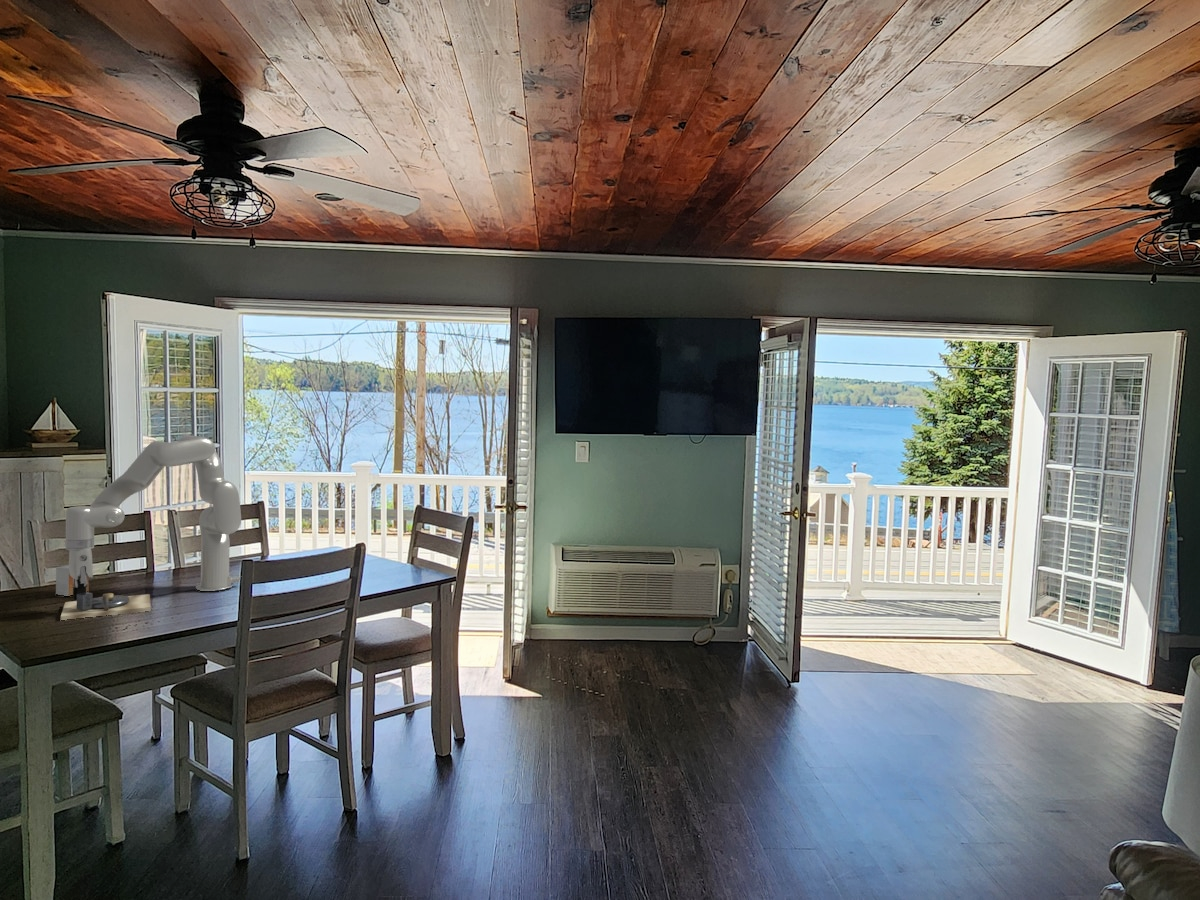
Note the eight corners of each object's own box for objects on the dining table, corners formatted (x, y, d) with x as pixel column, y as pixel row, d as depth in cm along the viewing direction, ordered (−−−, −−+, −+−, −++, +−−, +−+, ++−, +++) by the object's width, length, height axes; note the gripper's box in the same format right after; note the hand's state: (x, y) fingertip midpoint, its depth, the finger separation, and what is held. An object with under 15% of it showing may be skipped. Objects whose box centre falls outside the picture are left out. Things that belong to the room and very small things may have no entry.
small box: (68, 597, 242) (68, 568, 242) (55, 596, 244) (55, 566, 243) (89, 592, 250) (89, 563, 250) (76, 590, 251) (76, 562, 251)
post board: (149, 598, 246) (149, 580, 246) (150, 611, 231) (150, 592, 231) (65, 606, 232) (65, 587, 232) (60, 621, 218) (60, 600, 217)
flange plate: (113, 596, 239) (113, 582, 239) (137, 601, 235) (137, 586, 235) (67, 607, 225) (67, 592, 225) (92, 612, 221) (92, 597, 221)
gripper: (99, 546, 223) (98, 601, 224) (88, 539, 233) (88, 592, 234) (70, 548, 218) (70, 605, 218) (61, 541, 228) (60, 595, 229)
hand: (79, 598), depth 226 cm, fingers closed
